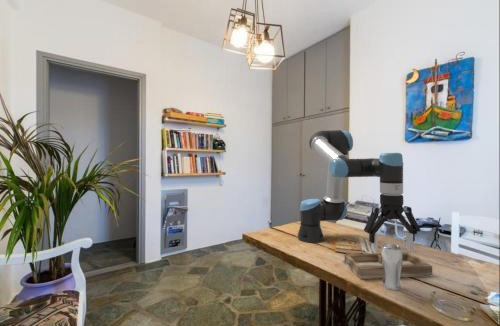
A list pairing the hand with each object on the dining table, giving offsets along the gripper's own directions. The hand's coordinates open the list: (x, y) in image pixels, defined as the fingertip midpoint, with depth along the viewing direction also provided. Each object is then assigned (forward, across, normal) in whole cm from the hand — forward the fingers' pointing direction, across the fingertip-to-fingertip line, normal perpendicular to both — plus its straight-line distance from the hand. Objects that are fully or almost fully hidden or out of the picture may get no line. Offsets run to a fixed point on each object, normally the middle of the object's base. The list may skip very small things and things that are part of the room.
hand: (392, 250), depth 90 cm
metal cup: (+14, 0, 0) cm, 14 cm away
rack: (+13, +6, +14) cm, 20 cm away
